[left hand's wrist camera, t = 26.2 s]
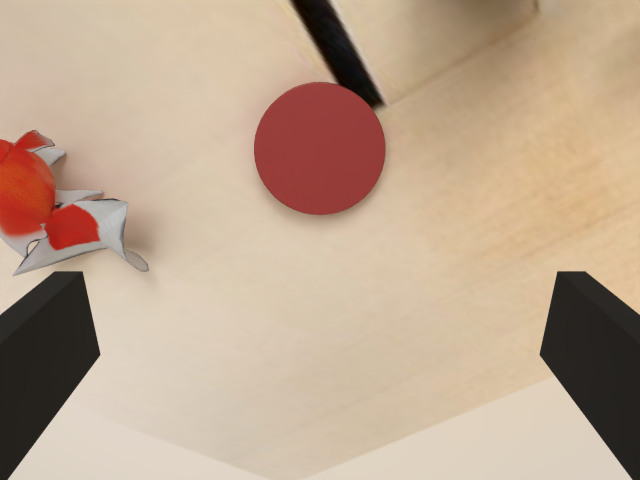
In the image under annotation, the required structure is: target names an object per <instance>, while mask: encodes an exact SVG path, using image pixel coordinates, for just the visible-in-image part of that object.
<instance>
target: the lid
mask: <svg viewBox="0 0 640 480" xmlns="http://www.w3.org/2000/svg"><path fill="white" fill-rule="evenodd" d="M254 155H255V162H256V166H257V170H258V172H259V175H260V177H261V179H262V181H263V183H264V185H265V186H266V187H267V189H268V190H269V191H270V192H271V193H272V195H273V196H274V197H275V198H277V199H278V200H279V201H280V202H282V203H283V204H285V205H286V206H288V207H290V208H292V209H294V210H297V211H300V212H303V213H307V214H315V215H324V214H332V213H337V212H340V211H343V210H345V209H347V208H350V207H352V206H353V205H355V204H356V203H358V202H359V201H360V200H362V199H363V198H364V197H365V196H366V195H367V194H368V193H369V192H370V191H371V189H372V188H373V187H374V185H375V184H376V182H377V180H378V178H379V176H380V174H381V171H382V168H383V164H384V159H385V139H384V134H383V130H382V127H381V124H380V122H379V120H378V118H377V116H376V115H375V113H374V111H373V110H372V109H371V108H370V106H369V105H368V104H367V103H366V102H365V101H364V100H363V99H362V98H361V97H360V96H358V95H357V94H355V93H354V92H353V91H351V90H349V89H347V88H345V87H343V86H340V85H337V84H333V83H327V82H313V83H307V84H302V85H300V86H297V87H294V88H292V89H290V90H289V91H287V92H285V93H284V94H283V95H281V96H280V97H279V98H278V99H277V100H276V101H275V102H273V103H272V104H271V106H270V107H269V108H268V109H267V111H266V112H265V114H264V115H263V117H262V119H261V121H260V123H259V126H258V128H257V132H256V135H255V142H254Z"/></svg>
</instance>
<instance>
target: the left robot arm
mask: <svg viewBox="0 0 640 480" xmlns="http://www.w3.org/2000/svg"><path fill="white" fill-rule="evenodd" d="M99 356H100V350H99V346H98V341H97V336H96V332H95V327H94V323H93V318H92V313H91V309H90V304H89V299H88V295H87V290H86V285H85V281H84V276H83V271H55V272H54V273H52V274H51V275H50V276H49V277H47V278H46V279H45V280H44V281H42V282H41V283H40V284H39V285H37V286H36V287H35V288H33V289H32V290H31V291H30V292H28V293H27V294H26V295H25V296H23V297H22V298H21V299H20V300H18V301H17V302H16V303H15V304H13V305H12V306H11V307H10V308H8V309H7V310H6V311H5V312H3V313H2V314H1V315H0V480H8V478H9V477H10V476H11V474H12V473H13V472H14V470H15V469H16V468H17V466H18V465H19V464H20V462H21V461H22V460H23V458H24V457H25V455H26V454H27V453H28V451H29V450H30V449H31V447H32V446H33V445H34V443H35V442H36V441H37V439H38V438H39V437H40V435H41V434H42V433H43V431H44V430H45V429H46V427H47V426H48V425H49V423H50V422H51V421H52V419H53V418H54V417H55V415H56V414H57V412H58V411H59V410H60V408H61V407H62V406H63V404H64V403H65V402H66V400H67V399H68V398H69V396H70V395H71V394H72V392H73V391H74V390H75V388H76V387H77V386H78V384H79V383H80V382H81V380H82V379H83V378H84V376H85V375H86V374H87V372H88V371H89V370H90V368H91V367H92V365H93V364H94V363H95V361H96V360H97V359H98V357H99ZM540 356H541V357H542V359H543V360H544V361H545V363H546V364H547V365H548V367H549V368H550V370H551V371H552V372H553V374H554V375H555V376H556V378H557V379H558V380H559V382H560V383H561V384H562V386H563V387H564V388H565V390H566V391H567V392H568V394H569V395H570V396H571V398H572V399H573V400H574V402H575V403H576V404H577V406H578V407H579V408H580V410H581V411H582V412H583V414H584V415H585V416H586V418H587V419H588V420H589V422H590V423H591V425H592V426H593V427H594V429H595V430H596V431H597V433H598V434H599V435H600V437H601V438H602V439H603V441H604V442H605V443H606V445H607V446H608V447H609V449H610V450H611V451H612V453H613V454H614V455H615V457H616V458H617V460H618V461H619V462H620V464H621V465H622V466H623V468H624V469H625V470H626V472H627V473H628V474H629V475H630V477H631V478H632V480H640V315H639V314H638V313H637V312H635V311H634V310H633V309H632V308H630V307H629V306H628V305H627V304H625V303H624V302H623V301H622V300H620V299H619V298H618V297H617V296H615V295H614V294H613V293H612V292H610V291H609V290H608V289H607V288H605V287H604V286H603V285H601V284H600V283H599V282H598V281H596V280H595V279H594V278H593V277H591V276H590V275H589V274H588V273H586V272H585V271H557V276H556V281H555V285H554V290H553V295H552V299H551V304H550V309H549V313H548V318H547V323H546V327H545V332H544V336H543V341H542V346H541V350H540Z"/></svg>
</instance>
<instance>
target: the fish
mask: <svg viewBox="0 0 640 480" xmlns="http://www.w3.org/2000/svg"><path fill="white" fill-rule="evenodd" d="M51 146H55V145H54V143H53V142H52V141H51V140H50V139H48V138H46V137H44V136H42V135H41V134H40V133H38V132H37V131H36V130H32V131H30V132H27V133H26V134H24V135H23V136H22V137H21V138H20V139H19V140H18V141H17V142H16V143H11V142H8V141H6V140H1V139H0V237H1V238H2V239H3V240H4V241H5V242H6V243H7V244H8V245H9V246H10V247H11V248H13V249H14V250H15V251H16V252H18V253H19V254H20V255H22V256H23V257H24V258H25V259H24V260H23V262H22V263H21V264H20V266H19V267H18V269H17V270H16V272H15V273H14V275H13V276H15V275H19V274H22V273H25V272H29V271H32V270H36V269H39V268H42V267H46V266H49V265H52V264H54V263H57V262H60V261H63V260H66V259H69V258H72V257H75V256H78V255H81V254H85V253H88V252H92V251H95V250H99V249H105V248H110V249H111V250H113V251H114V252H116V253H117V254H119V255H120V256H121V257H122V258H123V259H124V260H126V261H127V262H129V263H130V264H131V265H133V266H134V267H135V268H137V269H138V270H140V271H149V268H148V264H147V263H146V262H145V261H144V259H142V258H141V257H140V256H139V255H138V254H137V253H134V252H132V251H130V250H127V249H124V239H123V232H124V226H125V220H126V214H127V207H128V202H124V201H120V200H117V199H101V200H88V201H79V200H82V199H85V198H88V197H91V196H94V195H98V194H101V193H102V191H92V190H69V191H63V190H58V189H55V181H54V177H53V175H52V172H51V170H50V168H49V166H51V165H53V164H54V163H55V162H56V161H57V160H58V159H60V158H61V157H62V156H63V155H65V152H64V151H63V150H60V149H51V148H45V147H51ZM76 201H77V202H76ZM55 202H57V203H61V204H59V205H55ZM40 224H42V226H41V225H40ZM38 240H39V242H38V244H37V245H36V246H35V247H34V249H33V250H32V251H31V252H30V253H29V254H28V246H29V244H30V243H31V242H34V241H38Z"/></svg>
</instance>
